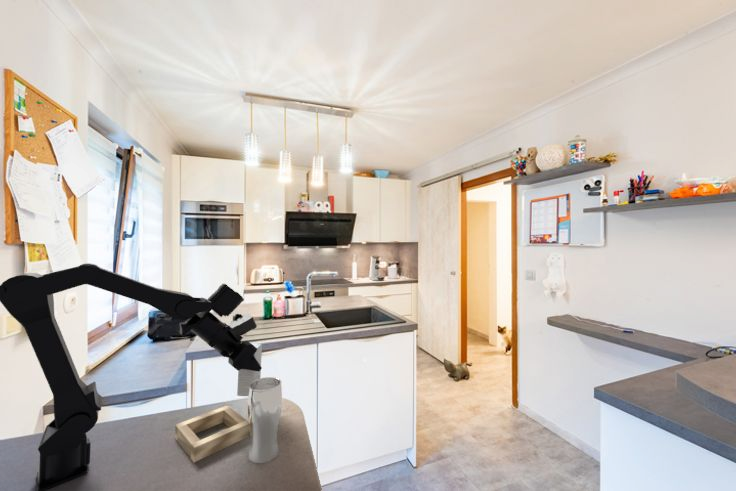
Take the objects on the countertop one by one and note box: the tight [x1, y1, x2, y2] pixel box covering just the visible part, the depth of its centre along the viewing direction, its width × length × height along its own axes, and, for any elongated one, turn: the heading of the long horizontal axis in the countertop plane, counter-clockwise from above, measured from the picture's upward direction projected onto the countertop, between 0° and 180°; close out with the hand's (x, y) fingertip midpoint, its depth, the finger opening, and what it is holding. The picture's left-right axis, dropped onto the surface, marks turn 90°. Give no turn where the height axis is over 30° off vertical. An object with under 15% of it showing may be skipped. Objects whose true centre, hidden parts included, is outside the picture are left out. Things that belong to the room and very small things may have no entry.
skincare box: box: [236, 342, 263, 397], centre depth 80 cm, size 6×4×12 cm
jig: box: [174, 405, 251, 463], centre depth 69 cm, size 12×12×3 cm
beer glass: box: [247, 376, 283, 464], centre depth 64 cm, size 7×7×15 cm
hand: (255, 365), depth 81 cm, fingers closed on skincare box, 7 cm apart
